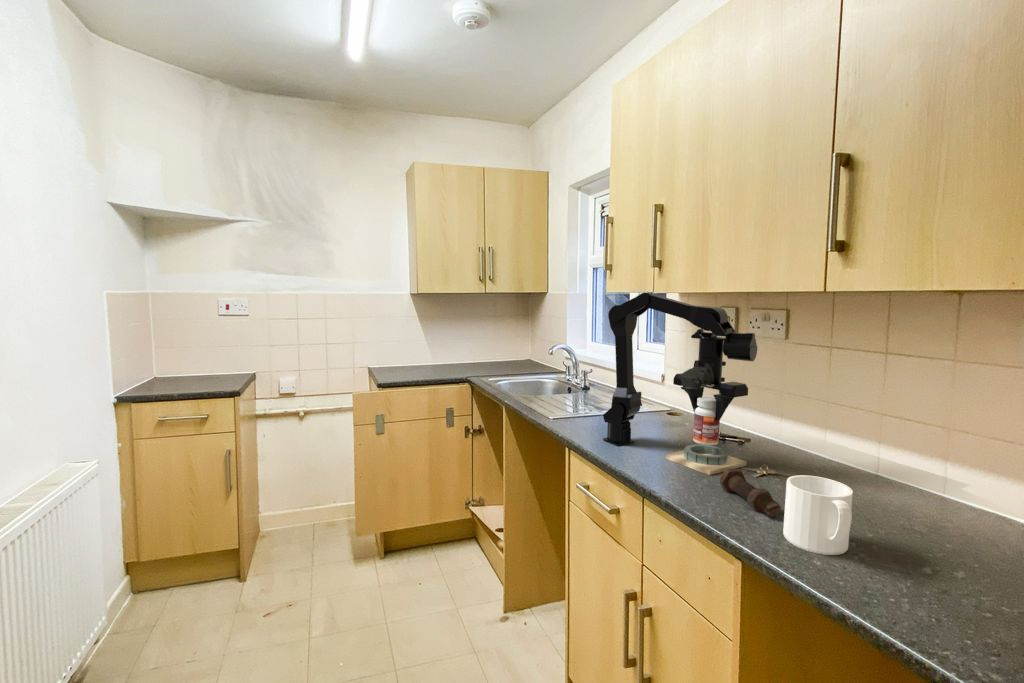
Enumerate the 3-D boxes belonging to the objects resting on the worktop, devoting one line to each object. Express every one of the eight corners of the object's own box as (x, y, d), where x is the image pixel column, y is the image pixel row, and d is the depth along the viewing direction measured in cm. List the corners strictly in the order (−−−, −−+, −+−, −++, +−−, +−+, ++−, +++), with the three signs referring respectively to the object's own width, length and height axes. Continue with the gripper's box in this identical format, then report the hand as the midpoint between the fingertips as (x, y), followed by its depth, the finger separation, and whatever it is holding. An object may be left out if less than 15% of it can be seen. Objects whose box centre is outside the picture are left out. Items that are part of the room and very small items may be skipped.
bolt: (769, 528, 100) (726, 495, 115) (790, 515, 100) (745, 484, 115) (757, 505, 99) (715, 474, 114) (779, 491, 99) (734, 463, 114)
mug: (772, 528, 96) (775, 475, 95) (824, 527, 97) (828, 475, 96) (813, 564, 84) (818, 503, 83) (873, 563, 84) (878, 503, 83)
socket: (665, 458, 135) (665, 447, 135) (701, 450, 142) (701, 439, 142) (709, 475, 123) (710, 463, 123) (746, 465, 130) (747, 454, 130)
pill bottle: (703, 446, 128) (705, 402, 127) (687, 439, 134) (690, 397, 133) (723, 444, 130) (726, 401, 129) (707, 437, 136) (710, 396, 135)
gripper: (659, 354, 134) (657, 412, 136) (720, 364, 118) (716, 430, 120) (689, 352, 139) (686, 408, 141) (751, 361, 123) (747, 424, 125)
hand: (706, 417), depth 132 cm, fingers closed on pill bottle, 6 cm apart
